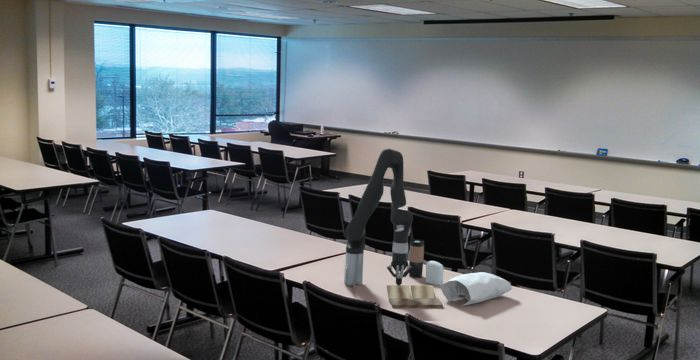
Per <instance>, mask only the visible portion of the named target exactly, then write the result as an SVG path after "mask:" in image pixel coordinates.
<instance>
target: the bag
mask: <svg viewBox="0 0 700 360" xmlns="http://www.w3.org/2000/svg"><path fill="white" fill-rule="evenodd" d="M439 289H440V290H441V292H442V295H443V296H444V297H445V299H446V300H447V301H448V302H449V303H451V301H452V302H457V301H462V300H465V299H466V301H467V302H466V303H464V304H461V305H460V307H462V306H463V307H466V306H468V305H474V304H478V303H482V302H484V301H485V302H486V301H488V300H491V299H496V298H498V297H500V296H502V295H504V294H506V293H509V292H510V291H511V290H512V289H513V287H512V284H511V283H510V282H508V281H507V280H506V279H504V278H502V277H500V276H498V275H495V274H492V273H488V272H486V271H485V272H484V271H482V272H481V271H480V272H471V273H465V274H460V275H457V276H455V277H452V278H451V279H449V280H447V281H445V282H443V284H442V285H439Z"/></svg>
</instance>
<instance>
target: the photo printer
mask: <svg viewBox="0 0 700 360" xmlns="http://www.w3.org/2000/svg"><path fill="white" fill-rule="evenodd" d="M425 283H427V284H428V285H433V286H441V285H442V284H444V265H443V264H441V263H440V262H438V261H435V260H428V261H426V265H425Z"/></svg>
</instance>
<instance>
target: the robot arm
mask: <svg viewBox="0 0 700 360" xmlns="http://www.w3.org/2000/svg"><path fill="white" fill-rule="evenodd" d="M388 169H391V171H392V175H393V178H392V179H393V180H392V182H391V185H390V193H389V194H390V199H391V213H390V221H391V223H392V225H394V226H402V227H400V228H397V229H395V230H394V231H393V241H392V248H391V249H392V257H391V262H390V265H387V266H386V269H387V270H388V271H389V273H390V275H391V276H392V277H393V278H395V285H403V284H402V283H403V278H407V275H408V276H409V272H410V271H411V270H412V267H411V266H409V262H408V261H409V259H408V258H409V256H408V255H409V232H410V229H411V226H412V224H413V220H414V217H413V214H412V211H410V210H406V209H405V210H399V209H400V208H403V207H405V206H406V205H407V198H406V193H405V192H406V191H405V184H404V183H405V182H404V156H403V154H402V153H401V152H400V151H398V150H395V149H391V148H384V149H382V150H381V152H380V154H379V157H378V158H377V161H376V164H375V167H374V169H373V172H372V174H371V177H370V179H369V181H368V183H367V185H366V187H365V189H364V190H363V191H364V192H363V193H362V196H361V198H360V200H359V203H358V205H357V208H356V211H355V212H354V215H353V216H352V218H351V220H350V222H349V223H348V225H347V227H346V228H345V236H346V238H347V242H346V246H345V264H344V278H343V279H344V281H343V283H344V285H345V286H349V287H354V286H362V285H363V277H364V276H363V273H364V254H365V253H364V250H365V246H366V225H367V223H368V220H369V219H370V217H371V216H372V214H373V213H374V212H375V210H376V208H377V207H378V205H379V203H380V201H381V198H382V197H383V195H384V191H385V188H384V187H385V186H384V185H385V184H384V178H385V175H386V172H387V170H388ZM393 270H394V271H395V272H394V271H393Z"/></svg>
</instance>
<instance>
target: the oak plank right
mask: <svg viewBox="0 0 700 360" xmlns="http://www.w3.org/2000/svg"><path fill="white" fill-rule="evenodd" d="M410 292H411V297H412V298H437V296H436V292H435V289H434V285H432V284H428V285H420V284H419V285H417V284H415V285H413V284H411V285H410Z"/></svg>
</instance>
